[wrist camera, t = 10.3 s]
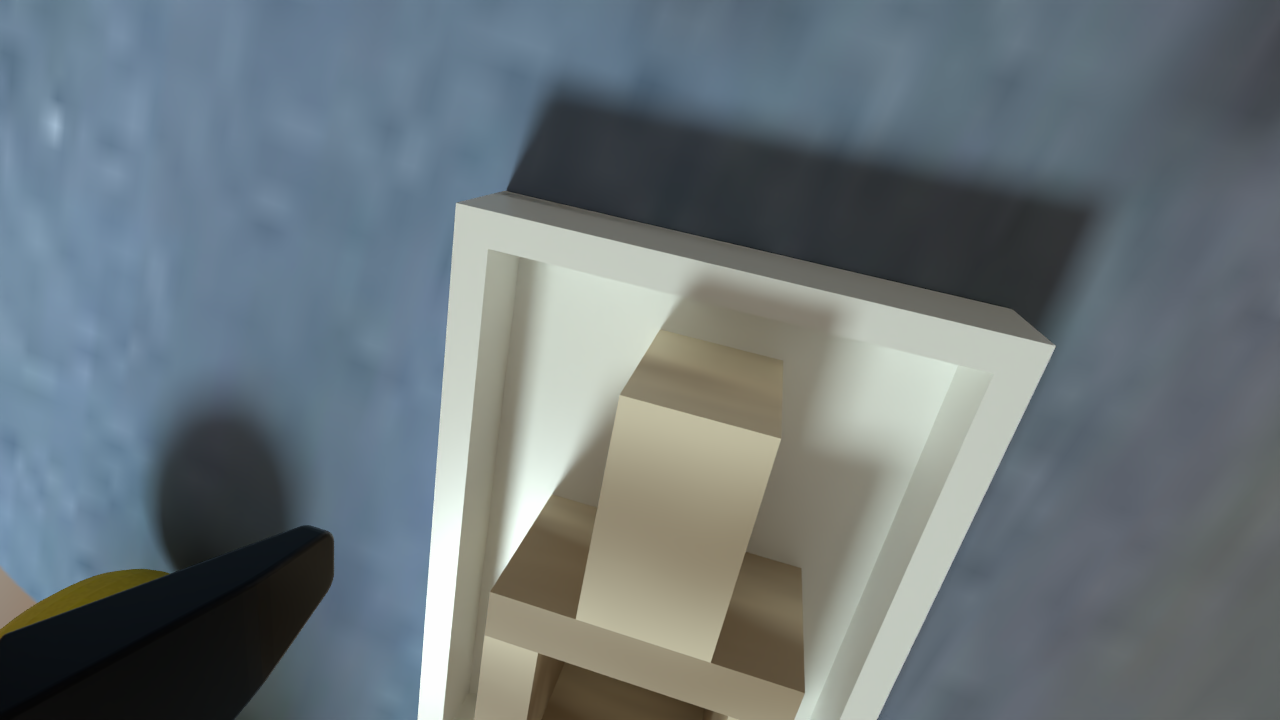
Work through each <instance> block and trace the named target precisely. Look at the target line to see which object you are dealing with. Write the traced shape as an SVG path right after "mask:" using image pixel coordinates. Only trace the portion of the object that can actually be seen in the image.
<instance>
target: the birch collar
mask: <svg viewBox="0 0 1280 720" xmlns="http://www.w3.org/2000/svg"><path fill="white" fill-rule="evenodd" d="M782 390H783V361H782V360H778V359H775V358H771V357H767V356H763V355H759V354H755V353H751V352H747V351H743V350H739V349H735V348H731V347H727V346H723V345H720V344H716V343H712V342H708V341H704V340H700V339H696V338H692V337H688V336H684V335H680V334H676V333H672V332H668V331H664V330H661V329H660V330H659V332H658V333H657V335H656V337H655V338H654V340H653V342H652V343H651V345H650V346H649V348H648V350H647V351H646V353H645V355H644V356H643V358H642V359H641V361H640V363H639V364H638V366H637V367H636V369H635V371H634V372H633V374H632V376H631V377H630V379H629V380H628V382H627V384H626V385H625V387H624V389H623V390H622V392H621V393H620V395H619V400H618V405H617V411H616V416H615V421H614V426H613V431H612V436H611V441H610V446H609V452H608V457H607V462H606V467H605V472H604V477H603V482H602V487H601V492H600V498H599V503H598V508H596V507H593V506H590V505H586V504H583V503H580V502H576V501H573V500H569V499H566V498H563V497H559V496H556V495H553V494H552V495H551V496H550V498H549V499H548V501H547V503H546V504H545V506H544V507H543V509H542V510H541V512H540V514H539V515H538V517H537V518H536V520H535V521H534V523H533V525H532V526H531V528H530V529H529V531H528V533H527V534H526V536H525V537H524V539H523V540H522V542H521V544H520V545H519V547H518V548H517V550H516V551H515V553H514V555H513V556H512V558H511V559H510V561H509V562H508V564H507V566H506V567H505V569H504V570H503V572H502V574H501V575H500V577H499V578H498V580H497V581H496V583H495V585H494V586H493V588H492V589H491V591H490V595H489V603H488V611H487V619H486V628H485V636H484V644H483V652H482V660H481V668H480V676H479V684H478V692H477V701H476V709H475V717H474V720H794V719H795V717H796V714H797V712H798V709H799V707H800V704H801V702H802V699H803V697H804V694H805V675H804V640H803V604H802V569H801V568H799V567H796V566H792V565H789V564H785V563H782V562H779V561H775V560H772V559H769V558H765V557H762V556H758V555H755V554H752V553H748V552H746V549H747V546H748V543H749V540H750V537H751V533H752V530H753V527H754V524H755V521H756V518H757V514H758V511H759V508H760V505H761V502H762V499H763V495H764V492H765V489H766V486H767V483H768V479H769V476H770V473H771V470H772V467H773V464H774V460H775V457H776V454H777V451H778V448H779V445H780V441H781V433H782Z"/></svg>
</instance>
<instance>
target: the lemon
mask: <svg viewBox="0 0 1280 720" xmlns="http://www.w3.org/2000/svg"><path fill="white" fill-rule="evenodd" d="M168 574H169V573H166V572H162V571H156V570H148V569H131V570H121V571H114V572H108V573H104V574H100V575H97V576H93V577H91V578H88V579H85V580H83V581H80V582H78V583H76V584H73V585H71V586H69V587H67V588H65V589H63V590H61V591H59V592H57V593H55V594H53V595H51V596H50V597H48V598H46V599H44V600H42V601H40V602H39V603H37V604H35V605H34V606H33V607H31V608H29V609H27V610H26V611H24V612H23V613H22V614H20V615H19V616H17V617H16V618H14V619H13V620H12V621H11V622H9V623H8V624H7V625H6V626H4V627H3V628H2V629H0V638H1V637H2V636H3V635H4V634H6V633H9V632H12V631H15V630H17V629H20V628H23V627H26V626H28V625H31V624H34V623H37V622H39V621H42V620H45V619H48V618H50V617H53V616H56V615H59V614H61V613H64V612H67V611H70V610H72V609H75V608H78V607H81V606H83V605H86V604H89V603H92V602H94V601H97V600H100V599H102V598H105V597H108V596H111V595H113V594H116V593H119V592H122V591H124V590H127V589H130V588H133V587H135V586H138V585H141V584H144V583H146V582H149V581H152V580H155V579H157V578H160V577H163V576H166V575H168Z"/></svg>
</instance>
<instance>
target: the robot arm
mask: <svg viewBox="0 0 1280 720" xmlns="http://www.w3.org/2000/svg"><path fill="white" fill-rule="evenodd" d="M333 577H334V538H333V536H332V534H331V533H330V532H329V531H326V530H323V529H319V528H316V527H313V526H309V525H305V526H300V527H297V528H295V529H292V530H289V531H286V532H284V533H281V534H278V535H275V536H273V537H270V538H267V539H264V540H262V541H259V542H256V543H253V544H251V545H248V546H245V547H243V548H240V549H237V550H234V551H232V552H229V553H226V554H223V555H221V556H218V557H215V558H212V559H210V560H207V561H204V562H201V563H199V564H196V565H193V566H190V567H188V568H185V569H182V570H179V571H177V572H174V573H171V574H168V575H166V576H163V577H160V578H157V579H155V580H152V581H149V582H146V583H144V584H141V585H138V586H135V587H133V588H130V589H127V590H124V591H122V592H119V593H116V594H113V595H111V596H108V597H105V598H102V599H100V600H97V601H94V602H92V603H89V604H86V605H83V606H81V607H78V608H75V609H72V610H70V611H67V612H64V613H61V614H59V615H56V616H53V617H50V618H48V619H45V620H42V621H39V622H37V623H34V624H31V625H28V626H26V627H23V628H20V629H17V630H15V631H12V632H9V633H6V634H4V635H3V636H2V637H1V638H0V720H234V719H235V718H236V717H237V715H238V714H239V713H240V712H241V711H242V709H243V708H244V707H245V706H246V705H247V704H248V702H249V701H250V700H251V699H252V697H253V696H254V695H255V694H256V692H257V691H258V690H259V689H260V687H261V686H262V685H263V684H264V682H265V681H266V680H267V678H268V677H269V675H270V674H271V673H272V671H273V670H274V669H275V667H276V666H277V664H278V663H279V661H280V660H281V658H282V657H283V656H284V654H285V653H286V651H287V650H288V648H289V647H290V645H291V644H292V643H293V641H294V640H295V638H296V637H297V635H298V634H299V632H300V631H301V629H302V628H303V627H304V625H305V624H306V622H307V621H308V619H309V618H310V616H311V615H312V614H313V612H314V611H315V609H316V608H317V606H318V605H319V603H320V602H321V600H322V599H323V598H324V596H325V595H326V593H327V592H328V590H329V588H330V586H331V584H332V581H333Z"/></svg>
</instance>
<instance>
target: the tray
mask: <svg viewBox="0 0 1280 720" xmlns="http://www.w3.org/2000/svg"><path fill="white" fill-rule="evenodd" d="M660 329H661V330H664V331H668V332H672V333H676V334H680V335H684V336H688V337H692V338H696V339H700V340H704V341H708V342H712V343H716V344H720V345H723V346H727V347H731V348H735V349H739V350H743V351H747V352H751V353H755V354H759V355H763V356H767V357H771V358H775V359H778V360H782V361H783V390H782V433H781V441H780V445H779V448H778V451H777V454H776V457H775V460H774V464H773V467H772V470H771V473H770V476H769V479H768V483H767V486H766V489H765V492H764V495H763V499H762V502H761V505H760V508H759V511H758V514H757V518H756V521H755V524H754V527H753V530H752V533H751V537H750V540H749V543H748V546H747V549H746V552H748V553H752V554H755V555H758V556H762V557H765V558H769V559H772V560H775V561H779V562H782V563H785V564H789V565H792V566H796V567H799V568H801V569H802V604H803V640H804V675H805V694H804V697H803V699H802V702H801V704H800V707H799V709H798V712H797V714H796V717H795V719H794V720H877V718H878V716H879V714H880V712H881V710H882V708H883V706H884V704H885V702H886V700H887V697H888V695H889V693H890V691H891V689H892V687H893V685H894V683H895V681H896V679H897V677H898V675H899V672H900V670H901V668H902V666H903V664H904V662H905V660H906V658H907V656H908V654H909V652H910V649H911V647H912V645H913V643H914V641H915V639H916V637H917V635H918V633H919V631H920V629H921V627H922V624H923V622H924V620H925V618H926V616H927V614H928V612H929V610H930V608H931V606H932V604H933V601H934V599H935V597H936V595H937V593H938V591H939V589H940V587H941V585H942V583H943V581H944V579H945V576H946V574H947V572H948V570H949V568H950V566H951V564H952V562H953V560H954V558H955V556H956V553H957V551H958V549H959V547H960V545H961V543H962V541H963V539H964V537H965V535H966V533H967V531H968V528H969V526H970V524H971V522H972V520H973V518H974V516H975V514H976V512H977V510H978V508H979V505H980V503H981V501H982V499H983V497H984V495H985V493H986V491H987V489H988V487H989V485H990V483H991V480H992V478H993V476H994V474H995V472H996V470H997V468H998V466H999V464H1000V462H1001V460H1002V458H1003V455H1004V453H1005V451H1006V449H1007V447H1008V445H1009V443H1010V441H1011V439H1012V437H1013V435H1014V432H1015V430H1016V428H1017V426H1018V424H1019V422H1020V420H1021V418H1022V416H1023V414H1024V412H1025V410H1026V407H1027V405H1028V403H1029V401H1030V399H1031V397H1032V395H1033V393H1034V391H1035V389H1036V387H1037V384H1038V382H1039V380H1040V378H1041V376H1042V374H1043V372H1044V370H1045V368H1046V366H1047V364H1048V362H1049V359H1050V357H1051V355H1052V353H1053V351H1054V349H1055V347H1056V346H1055V345H1054V344H1053V343H1052V342H1051V341H1049V340H1048V339H1047V338H1046V337H1045V336H1043V335H1042V334H1041V333H1040V332H1039V331H1038V330H1036V329H1035V328H1034V327H1033V326H1032V325H1030V324H1029V323H1028V322H1027V321H1026V320H1024V319H1023V318H1022V317H1021V316H1020V315H1019V314H1017V313H1016V312H1015V311H1014V310H1013V309H1009V308H1005V307H1001V306H996V305H992V304H988V303H984V302H979V301H975V300H971V299H966V298H962V297H958V296H954V295H949V294H945V293H941V292H936V291H932V290H928V289H924V288H919V287H915V286H911V285H906V284H902V283H898V282H894V281H889V280H885V279H881V278H876V277H872V276H868V275H864V274H859V273H855V272H851V271H846V270H842V269H838V268H834V267H829V266H825V265H821V264H816V263H812V262H808V261H804V260H799V259H795V258H791V257H786V256H782V255H778V254H774V253H769V252H765V251H761V250H757V249H752V248H748V247H744V246H739V245H735V244H731V243H727V242H722V241H718V240H714V239H709V238H705V237H701V236H697V235H692V234H688V233H684V232H679V231H675V230H671V229H667V228H662V227H658V226H654V225H649V224H645V223H641V222H637V221H632V220H628V219H624V218H619V217H615V216H611V215H607V214H602V213H598V212H594V211H589V210H585V209H581V208H577V207H572V206H568V205H564V204H559V203H555V202H551V201H547V200H542V199H538V198H534V197H529V196H525V195H521V194H517V193H512V192H508V191H502V192H498V193H494V194H490V195H486V196H482V197H478V198H474V199H470V200H466V201H462V202H458V203H456V212H455V225H454V239H453V252H452V266H451V279H450V292H449V306H448V319H447V333H446V346H445V360H444V373H443V386H442V400H441V413H440V427H439V440H438V454H437V467H436V481H435V494H434V507H433V521H432V534H431V548H430V561H429V575H428V588H427V601H426V615H425V628H424V642H423V655H422V669H421V682H420V696H419V709H418V720H474V717H475V709H476V701H477V692H478V684H479V676H480V668H481V660H482V652H483V644H484V636H485V628H486V619H487V611H488V603H489V595H490V591H491V589H492V588H493V586H494V585H495V583H496V581H497V580H498V578H499V577H500V575H501V574H502V572H503V570H504V569H505V567H506V566H507V564H508V562H509V561H510V559H511V558H512V556H513V555H514V553H515V551H516V550H517V548H518V547H519V545H520V544H521V542H522V540H523V539H524V537H525V536H526V534H527V533H528V531H529V529H530V528H531V526H532V525H533V523H534V521H535V520H536V518H537V517H538V515H539V514H540V512H541V510H542V509H543V507H544V506H545V504H546V503H547V501H548V499H549V498H550V496H551V495H552V494H553V495H556V496H559V497H563V498H566V499H569V500H573V501H576V502H580V503H583V504H586V505H590V506H593V507H596V508H598V503H599V498H600V492H601V487H602V482H603V477H604V472H605V467H606V462H607V457H608V452H609V446H610V441H611V436H612V431H613V426H614V421H615V416H616V411H617V405H618V400H619V395H620V393H621V392H622V390H623V389H624V387H625V385H626V384H627V382H628V380H629V379H630V377H631V376H632V374H633V372H634V371H635V369H636V367H637V366H638V364H639V363H640V361H641V359H642V358H643V356H644V355H645V353H646V351H647V350H648V348H649V346H650V345H651V343H652V342H653V340H654V338H655V337H656V335H657V333H658V332H659V330H660Z"/></svg>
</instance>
